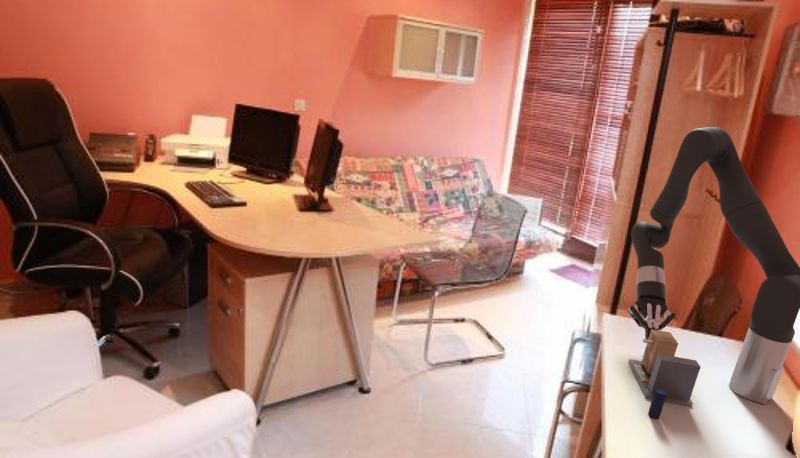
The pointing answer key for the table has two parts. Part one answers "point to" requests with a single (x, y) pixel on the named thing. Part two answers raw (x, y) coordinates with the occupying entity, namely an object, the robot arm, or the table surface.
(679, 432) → the table surface
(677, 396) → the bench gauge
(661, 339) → the block
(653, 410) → the eraser
